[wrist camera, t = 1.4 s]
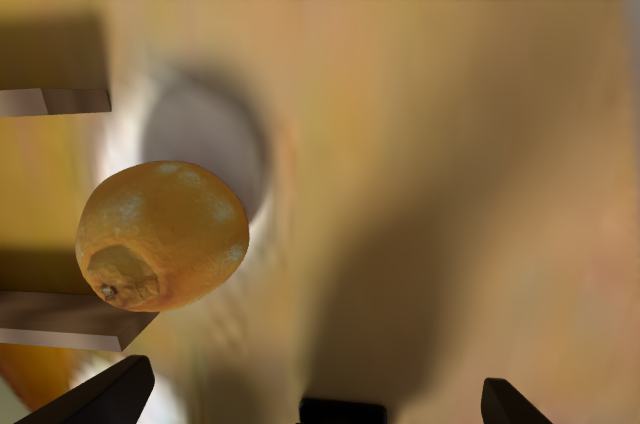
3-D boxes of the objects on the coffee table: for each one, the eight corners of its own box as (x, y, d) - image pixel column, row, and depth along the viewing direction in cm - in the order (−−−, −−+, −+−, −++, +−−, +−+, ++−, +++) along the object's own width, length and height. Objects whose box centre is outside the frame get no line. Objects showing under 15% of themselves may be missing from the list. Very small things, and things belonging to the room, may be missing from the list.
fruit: (198, 328, 21) (144, 370, 13) (97, 253, 21) (-19, 249, 13) (276, 227, 22) (271, 208, 14) (182, 157, 22) (125, 100, 14)
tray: (105, 90, 19) (40, 87, 15) (160, 312, 24) (121, 352, 20) (-110, 101, 21) (-214, 102, 17) (-18, 301, 26) (-83, 336, 22)
